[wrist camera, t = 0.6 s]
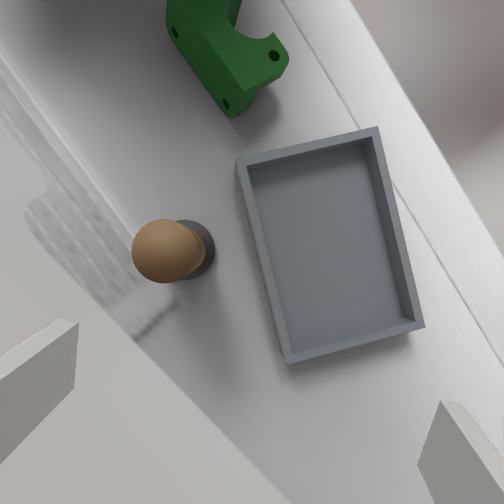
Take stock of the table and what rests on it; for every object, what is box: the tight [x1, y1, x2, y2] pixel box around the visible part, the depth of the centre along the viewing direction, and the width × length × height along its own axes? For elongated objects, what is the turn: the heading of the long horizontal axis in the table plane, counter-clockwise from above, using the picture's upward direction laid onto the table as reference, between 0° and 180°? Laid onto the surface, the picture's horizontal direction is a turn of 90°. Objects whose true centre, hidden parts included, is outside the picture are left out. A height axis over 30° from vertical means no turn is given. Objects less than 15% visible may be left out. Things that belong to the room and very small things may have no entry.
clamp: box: [166, 0, 289, 118], centre depth 34 cm, size 12×6×9 cm, turn 30°
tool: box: [132, 219, 215, 283], centre depth 30 cm, size 6×6×12 cm
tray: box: [235, 126, 425, 365], centre depth 36 cm, size 20×14×4 cm
